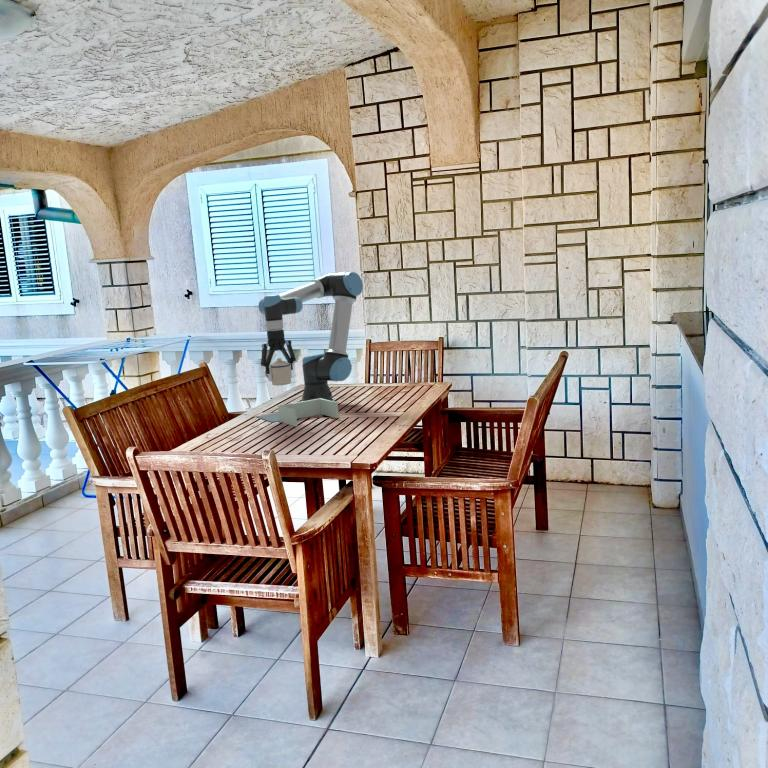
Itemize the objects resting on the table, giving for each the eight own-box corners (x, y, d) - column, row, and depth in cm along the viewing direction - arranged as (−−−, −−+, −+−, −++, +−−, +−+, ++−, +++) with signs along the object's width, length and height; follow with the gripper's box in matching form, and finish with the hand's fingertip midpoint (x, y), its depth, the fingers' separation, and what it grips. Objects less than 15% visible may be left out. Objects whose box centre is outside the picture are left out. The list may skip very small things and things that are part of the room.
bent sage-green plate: (321, 413, 337) (320, 398, 336) (338, 417, 324) (337, 402, 323) (279, 421, 326) (277, 405, 325) (295, 426, 313) (293, 410, 312)
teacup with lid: (294, 381, 336) (292, 356, 334) (287, 385, 328) (285, 359, 326) (269, 382, 339) (267, 357, 337) (262, 386, 330) (259, 360, 328)
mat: (291, 410, 349) (291, 409, 349) (308, 415, 334) (308, 414, 334) (255, 417, 339) (255, 416, 339) (272, 422, 324) (272, 421, 324)
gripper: (293, 326, 339) (297, 374, 342) (249, 332, 327) (254, 382, 331) (300, 327, 332) (305, 376, 336) (256, 332, 321) (261, 383, 324)
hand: (280, 379), depth 333 cm, fingers closed on teacup with lid, 9 cm apart
